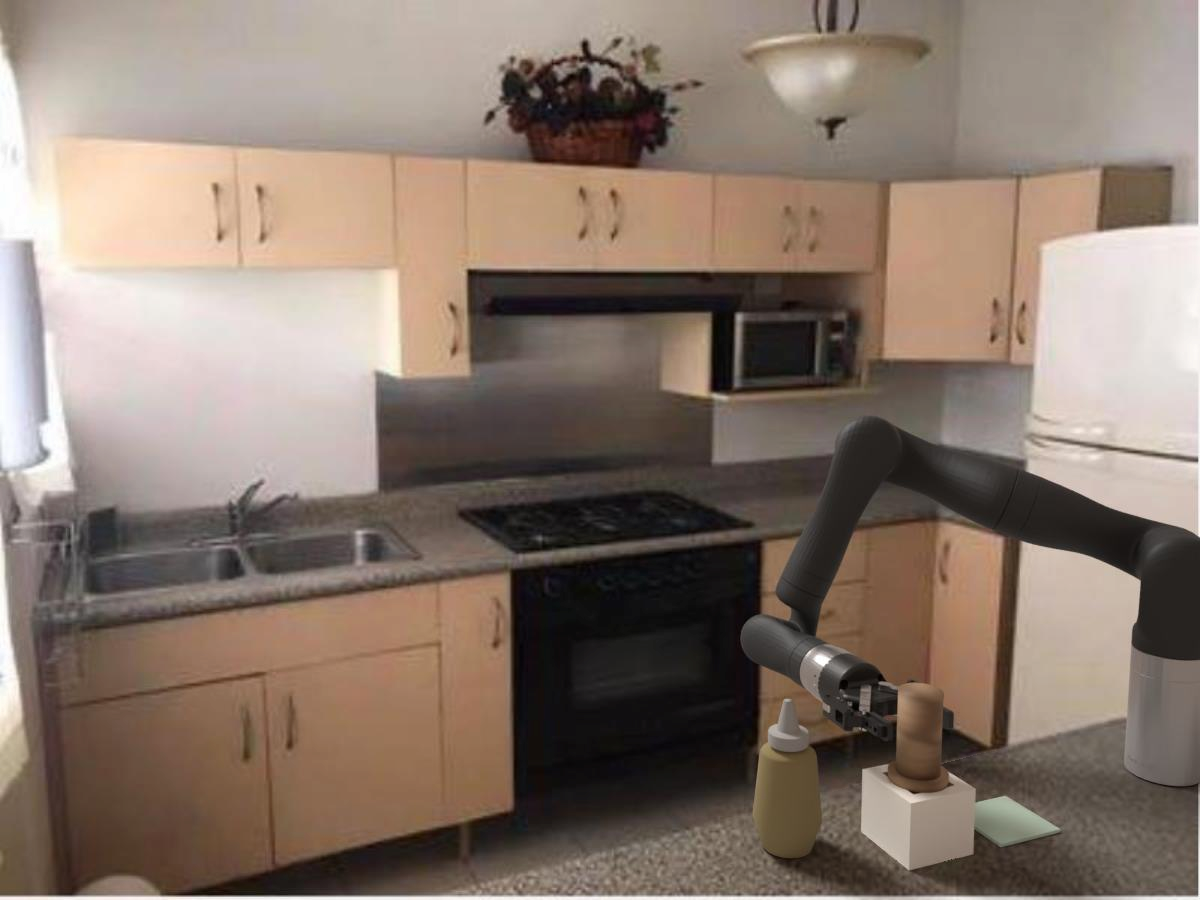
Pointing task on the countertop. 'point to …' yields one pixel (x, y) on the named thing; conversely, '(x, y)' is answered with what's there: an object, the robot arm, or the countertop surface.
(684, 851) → the countertop surface
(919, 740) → the flanged wooden peg
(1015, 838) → the mat
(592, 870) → the countertop surface
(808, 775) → the squeeze bottle
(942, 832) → the white socket block
